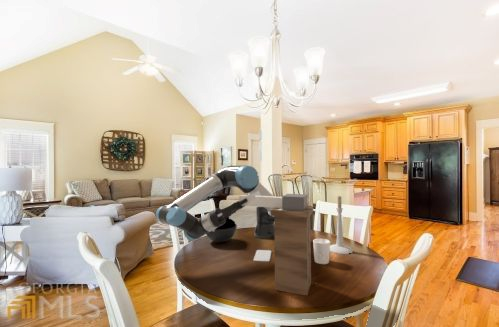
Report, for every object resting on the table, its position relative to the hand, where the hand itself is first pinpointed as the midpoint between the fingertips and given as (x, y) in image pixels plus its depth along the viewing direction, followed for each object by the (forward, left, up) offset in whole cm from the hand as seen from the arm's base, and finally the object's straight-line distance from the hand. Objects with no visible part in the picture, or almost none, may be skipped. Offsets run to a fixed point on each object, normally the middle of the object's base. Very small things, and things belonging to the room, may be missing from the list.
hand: (257, 194), depth 100 cm
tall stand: (0, +15, -35) cm, 38 cm away
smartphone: (-26, -6, -35) cm, 44 cm away
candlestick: (-49, +31, -35) cm, 68 cm away
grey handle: (0, +6, -5) cm, 8 cm away
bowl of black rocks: (-40, -38, -35) cm, 66 cm away
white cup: (-29, +23, -35) cm, 51 cm away
